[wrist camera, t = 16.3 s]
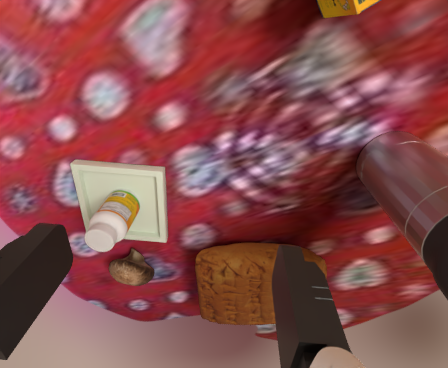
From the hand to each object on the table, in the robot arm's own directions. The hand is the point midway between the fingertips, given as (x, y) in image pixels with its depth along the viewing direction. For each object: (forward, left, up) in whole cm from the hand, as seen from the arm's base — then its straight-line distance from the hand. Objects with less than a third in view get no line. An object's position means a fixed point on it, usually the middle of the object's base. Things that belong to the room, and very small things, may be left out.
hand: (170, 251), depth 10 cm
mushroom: (+14, +32, -30) cm, 47 cm away
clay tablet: (-9, +31, -30) cm, 45 cm away
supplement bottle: (+15, +19, -30) cm, 38 cm away
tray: (+15, +19, -30) cm, 39 cm away
